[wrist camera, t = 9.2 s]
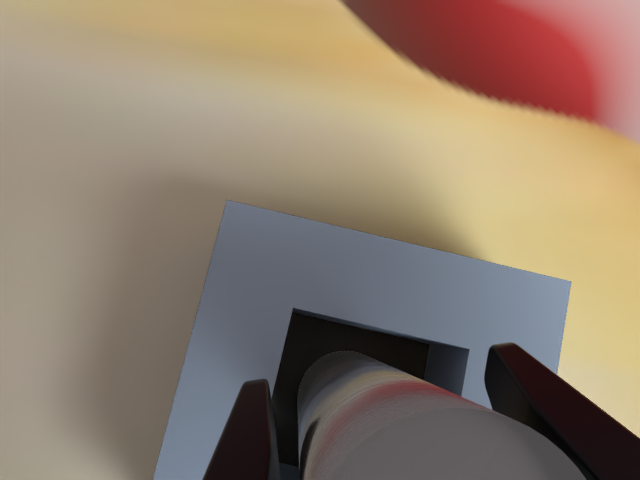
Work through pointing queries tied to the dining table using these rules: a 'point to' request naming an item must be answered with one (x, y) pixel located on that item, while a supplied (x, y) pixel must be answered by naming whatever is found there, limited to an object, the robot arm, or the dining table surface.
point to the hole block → (343, 316)
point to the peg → (410, 430)
